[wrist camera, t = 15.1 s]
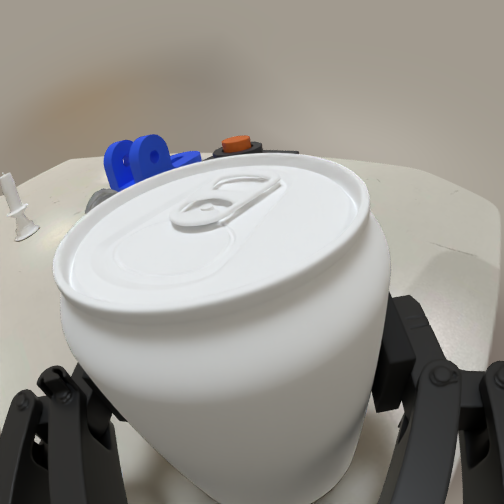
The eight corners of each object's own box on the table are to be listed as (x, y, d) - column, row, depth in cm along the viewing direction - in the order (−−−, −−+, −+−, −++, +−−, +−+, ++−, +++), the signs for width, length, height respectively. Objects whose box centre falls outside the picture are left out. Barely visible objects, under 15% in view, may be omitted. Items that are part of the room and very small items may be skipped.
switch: (257, 146, 44) (255, 135, 43) (240, 154, 41) (237, 142, 40) (235, 146, 46) (233, 135, 45) (218, 154, 44) (215, 143, 43)
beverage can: (157, 465, 12) (-4, 267, 6) (241, 358, 18) (186, 151, 12) (309, 542, 8) (293, 455, 2) (377, 398, 14) (410, 154, 8)
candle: (32, 236, 43) (7, 171, 37) (11, 244, 43) (-15, 182, 37) (43, 223, 48) (21, 162, 42) (22, 231, 48) (0, 173, 41)
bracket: (149, 199, 45) (133, 142, 40) (114, 200, 49) (98, 149, 44) (210, 159, 58) (200, 114, 54) (176, 162, 62) (166, 121, 57)
